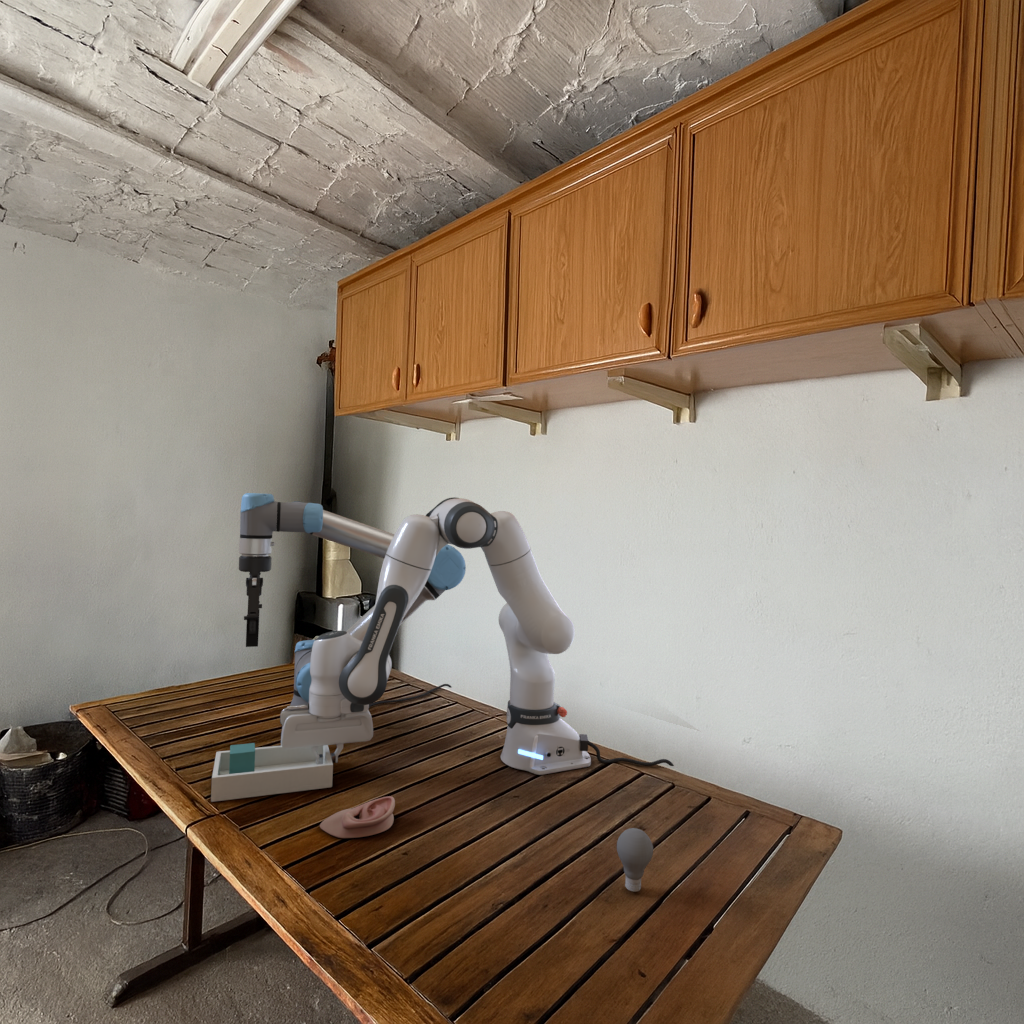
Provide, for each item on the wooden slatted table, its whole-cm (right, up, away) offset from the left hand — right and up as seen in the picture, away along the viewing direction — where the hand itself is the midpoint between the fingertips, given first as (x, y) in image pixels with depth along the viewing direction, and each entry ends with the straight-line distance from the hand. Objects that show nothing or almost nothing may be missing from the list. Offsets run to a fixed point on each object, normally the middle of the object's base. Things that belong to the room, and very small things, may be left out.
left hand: (252, 640), depth 158 cm
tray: (+12, -28, -17) cm, 35 cm away
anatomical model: (+35, -29, -35) cm, 57 cm away
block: (+6, -26, -20) cm, 34 cm away
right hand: (+22, -25, -13) cm, 36 cm away
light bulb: (+85, -31, -52) cm, 104 cm away
